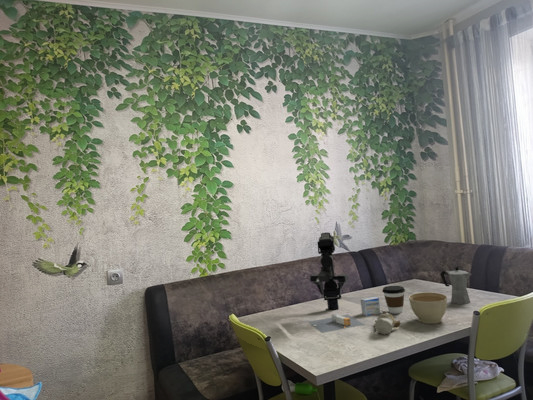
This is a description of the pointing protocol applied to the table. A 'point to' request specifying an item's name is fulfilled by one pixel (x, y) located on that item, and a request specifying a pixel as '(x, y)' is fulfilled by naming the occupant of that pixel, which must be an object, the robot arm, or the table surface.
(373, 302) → the medicine box
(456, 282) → the coffeepot
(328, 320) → the dial board
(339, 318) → the white and tan block
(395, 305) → the coffee cup
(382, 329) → the ceramic sculpture
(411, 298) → the planter bowl
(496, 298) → the table surface
